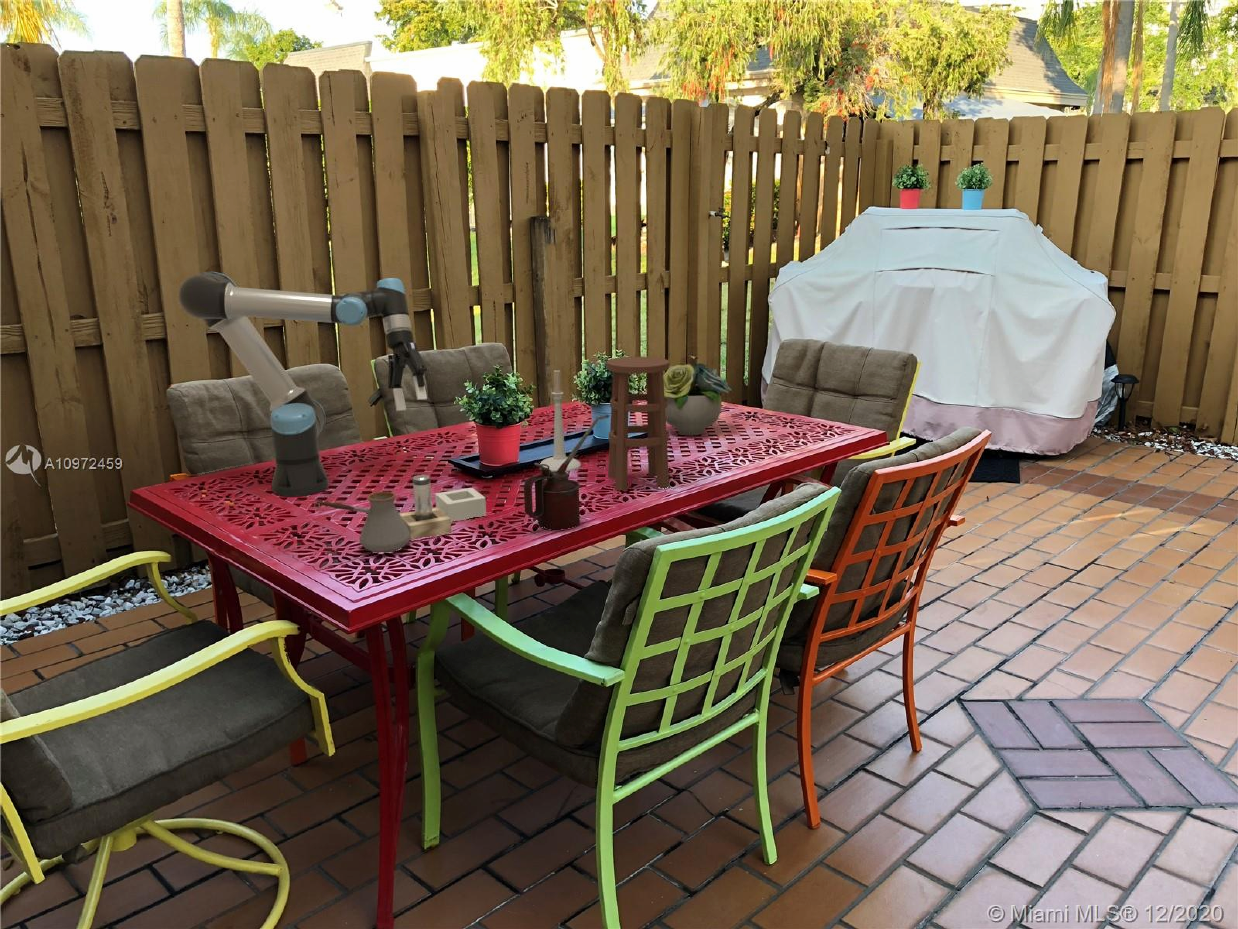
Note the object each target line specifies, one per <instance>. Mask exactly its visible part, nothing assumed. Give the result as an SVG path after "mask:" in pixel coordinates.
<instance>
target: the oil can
mask: <svg viewBox="0 0 1238 929" xmlns="http://www.w3.org/2000/svg"><path fill="white" fill-rule="evenodd" d="M605 418H606V419H608V418H611V415H608V414H605V415H599V416H598V417H596V419H594V421H593V422H592V424H590V426H589V427H588V429H587V431H585V433H584V434H583V436H582V437H581V438H580V440H579V441H578V443H577V444H576V445H575V446H574V448H573V449H572V451H571V452H570V454H569V455H568V456H567V457H568V458H567V459H566V460H565V462H564V463H562V465H561V466H560V467H559V469H558V470H557V471H553V472H552V471H551V470H550V469H549V466H548V465H546V464H539V463H540V462H535V463H534V466H536V467H537V468H538V469H540V468H541V469H540V472H541V473H540V474H536V475H534V476H533V475H532V476H530V477H527V478H526V479H525V481H524V483H523V500H524V501H523V503H524V505H523V506H524V513H525V514H526V515H527V516H529V517H533V518H537V525H538V524H539V526H540V528H541V527H543V528H544V527H545V528H547V529H551V530H550V531H553V530H561V529H568V528H572V527H575V526H577V525H578V524H579V525H580V523H581V522H580V518H581V517H580V513H581V512H580V486H581V484H580V482H578V481H575V480H574V479H569V473H568V472H565V471H566V469H567V467H568V465H569V463H570V462H571V460H572V459H573V458H574V457H575V455H577V453H578V451H579V450H580V448H581V447H582V445H583V444H584V443H585V441H586V439H588V438H587V437H588V436H589V435H590V433H591V432H592V431H593V429H594V427H595V425H596V424H597V423H598V421H599V420H602V419H605ZM543 465H544V466H547V467H548V468H546V467H544V466H543ZM533 486H534V500H535V501H534V502H535V507H533V506H534V505H533ZM533 508H535V509H534V511H533ZM579 525H578V526H579ZM539 526H538V527H539ZM578 526H577V527H578ZM543 528H542V529H543ZM575 528H576V527H575ZM572 529H573V528H572ZM568 530H569V529H568ZM561 531H562V530H561Z"/></svg>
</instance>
